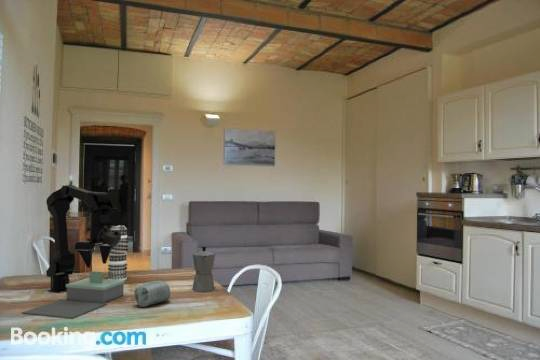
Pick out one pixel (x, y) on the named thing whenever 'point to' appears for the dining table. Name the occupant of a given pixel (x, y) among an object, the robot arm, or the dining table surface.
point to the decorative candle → (118, 255)
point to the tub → (95, 294)
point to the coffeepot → (203, 271)
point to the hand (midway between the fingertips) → (96, 265)
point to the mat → (64, 309)
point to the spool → (152, 293)
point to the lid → (95, 282)
